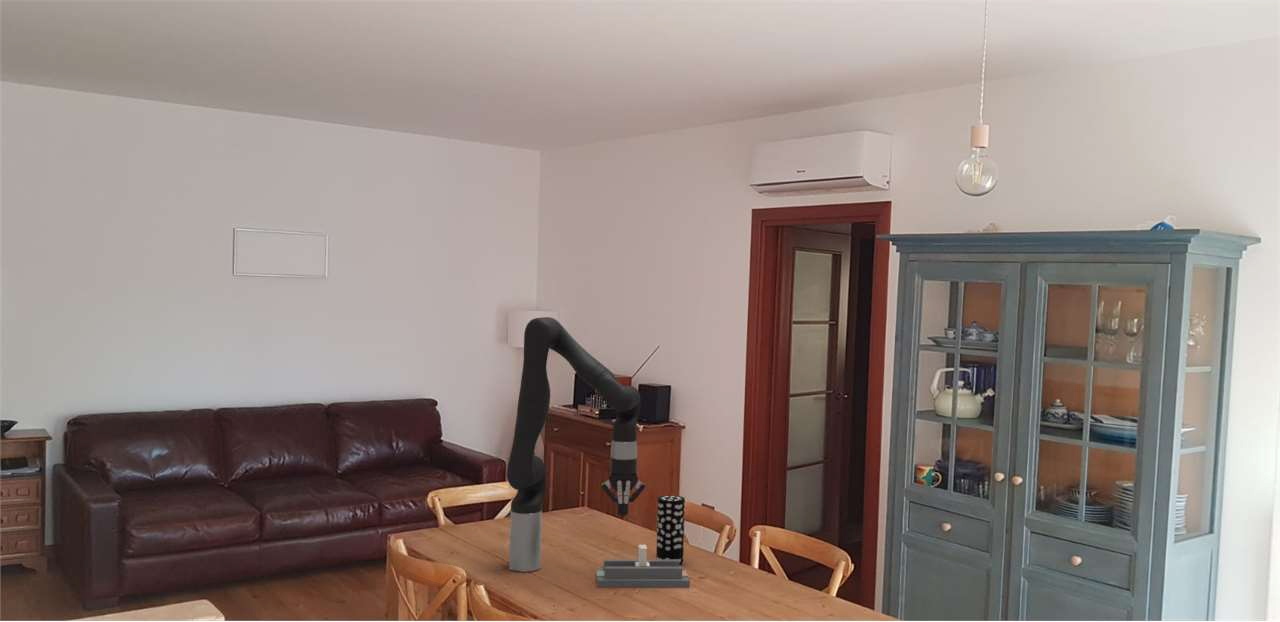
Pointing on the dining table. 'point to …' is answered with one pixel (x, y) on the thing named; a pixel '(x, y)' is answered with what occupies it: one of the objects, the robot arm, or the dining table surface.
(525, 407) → the robot arm
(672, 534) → the spotted tube
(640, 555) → the breaker handle
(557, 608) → the dining table surface
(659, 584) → the breaker panel
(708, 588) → the dining table surface
